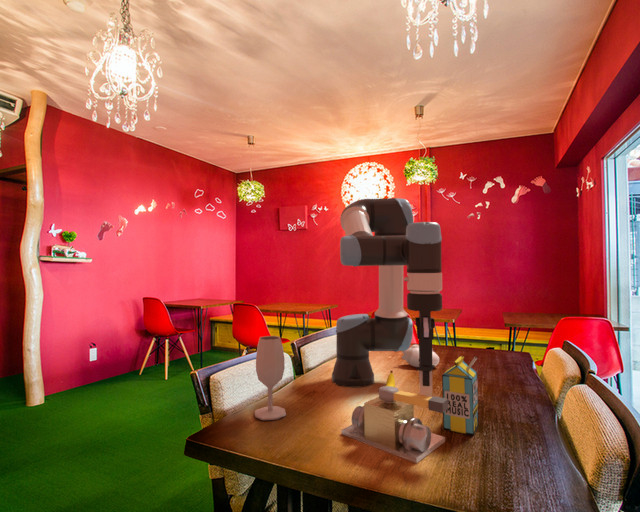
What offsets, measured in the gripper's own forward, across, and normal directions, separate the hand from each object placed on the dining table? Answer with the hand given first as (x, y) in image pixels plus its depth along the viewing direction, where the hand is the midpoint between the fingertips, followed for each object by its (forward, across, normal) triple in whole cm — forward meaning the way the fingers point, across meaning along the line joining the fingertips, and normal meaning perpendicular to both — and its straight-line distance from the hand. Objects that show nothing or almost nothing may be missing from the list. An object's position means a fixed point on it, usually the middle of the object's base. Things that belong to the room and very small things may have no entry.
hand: (426, 399), depth 81 cm
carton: (+11, -13, +9) cm, 19 cm away
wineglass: (+11, -11, -41) cm, 43 cm away
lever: (+1, +1, -3) cm, 3 cm away
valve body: (+11, -4, -8) cm, 14 cm away
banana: (+12, -30, -10) cm, 33 cm away
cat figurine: (+12, -72, +1) cm, 73 cm away
